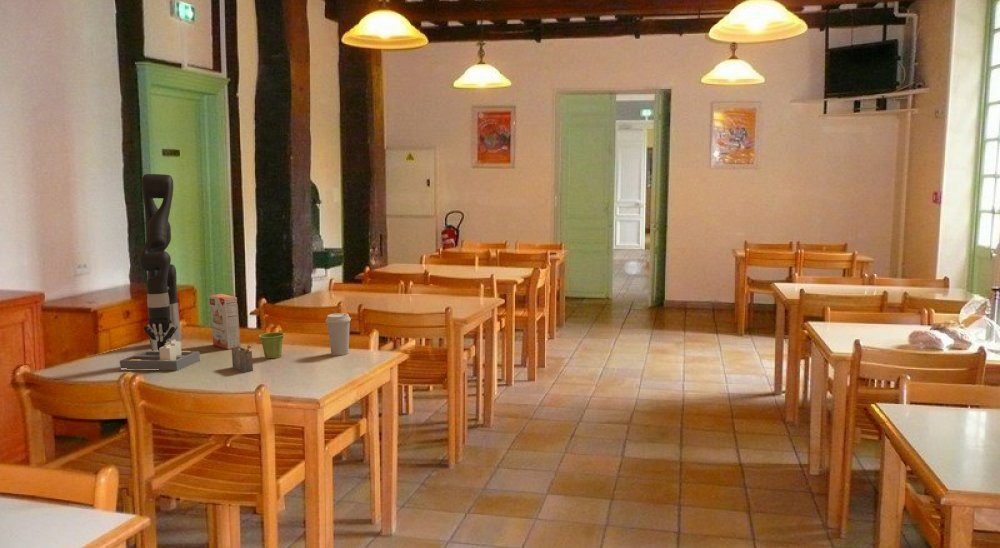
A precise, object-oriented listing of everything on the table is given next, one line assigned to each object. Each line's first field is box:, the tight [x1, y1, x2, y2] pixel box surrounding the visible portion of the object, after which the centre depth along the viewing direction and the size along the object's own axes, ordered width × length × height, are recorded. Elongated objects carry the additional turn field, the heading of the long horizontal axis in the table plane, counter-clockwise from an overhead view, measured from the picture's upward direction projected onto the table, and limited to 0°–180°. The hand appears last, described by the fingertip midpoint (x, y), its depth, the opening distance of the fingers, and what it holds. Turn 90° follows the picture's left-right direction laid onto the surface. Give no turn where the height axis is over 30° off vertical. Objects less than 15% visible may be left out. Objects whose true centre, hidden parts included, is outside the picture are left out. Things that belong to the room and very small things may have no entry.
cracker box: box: [209, 293, 242, 351], centre depth 333 cm, size 14×6×21 cm, turn 42°
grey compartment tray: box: [119, 350, 201, 371], centre depth 304 cm, size 16×22×4 cm
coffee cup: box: [325, 312, 352, 357], centre depth 315 cm, size 10×10×15 cm
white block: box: [165, 339, 182, 355], centre depth 307 cm, size 4×4×7 cm
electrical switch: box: [149, 332, 175, 351], centre depth 320 cm, size 9×5×9 cm, turn 134°
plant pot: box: [258, 331, 285, 360], centre depth 312 cm, size 9×9×9 cm
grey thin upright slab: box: [231, 344, 254, 373], centre depth 294 cm, size 11×3×10 cm, turn 41°
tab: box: [159, 344, 177, 360], centre depth 298 cm, size 4×4×7 cm
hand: (162, 350), depth 307 cm, fingers closed
